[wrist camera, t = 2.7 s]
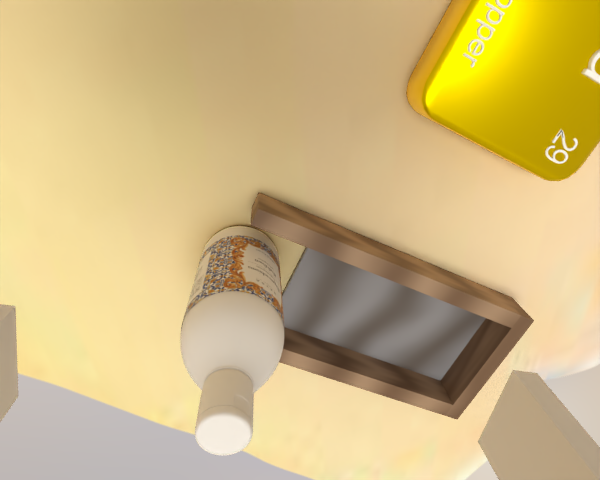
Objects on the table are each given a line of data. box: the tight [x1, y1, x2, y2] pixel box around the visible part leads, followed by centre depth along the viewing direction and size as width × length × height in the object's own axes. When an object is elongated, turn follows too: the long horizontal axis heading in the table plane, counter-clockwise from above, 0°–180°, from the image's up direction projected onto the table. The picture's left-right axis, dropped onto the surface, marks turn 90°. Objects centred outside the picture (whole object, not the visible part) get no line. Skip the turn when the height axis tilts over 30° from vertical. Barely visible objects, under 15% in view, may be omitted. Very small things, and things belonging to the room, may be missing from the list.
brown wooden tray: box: [251, 193, 534, 419], centre depth 42 cm, size 28×13×4 cm, turn 65°
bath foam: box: [181, 226, 285, 455], centre depth 32 cm, size 7×7×20 cm
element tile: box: [406, 0, 600, 181], centre depth 34 cm, size 15×15×5 cm
